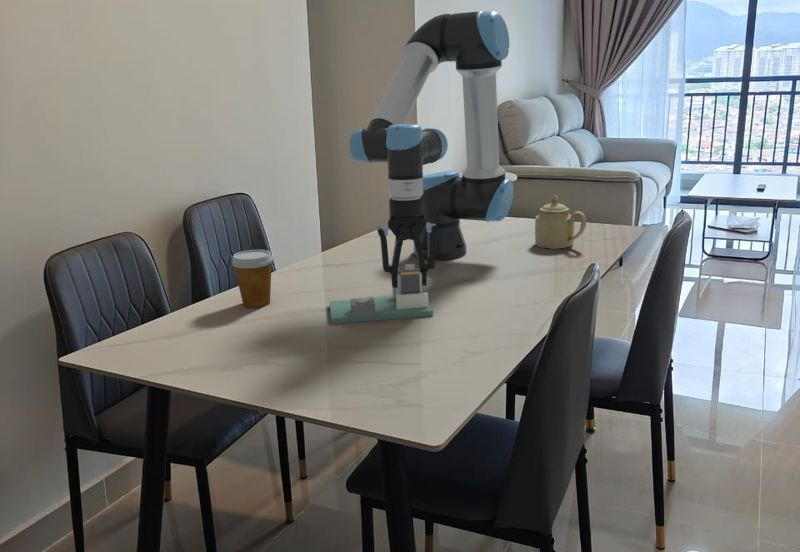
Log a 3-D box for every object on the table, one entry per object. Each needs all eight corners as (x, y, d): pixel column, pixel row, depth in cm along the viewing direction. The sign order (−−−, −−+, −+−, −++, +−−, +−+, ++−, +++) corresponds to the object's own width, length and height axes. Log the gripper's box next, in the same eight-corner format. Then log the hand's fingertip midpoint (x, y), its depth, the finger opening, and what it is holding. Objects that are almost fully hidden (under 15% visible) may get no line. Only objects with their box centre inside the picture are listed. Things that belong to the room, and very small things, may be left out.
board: (329, 306, 164) (328, 288, 163) (424, 298, 167) (423, 281, 165) (331, 323, 153) (330, 305, 152) (433, 315, 155) (432, 297, 154)
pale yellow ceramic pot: (588, 241, 212) (590, 191, 208) (584, 251, 202) (586, 198, 198) (538, 239, 217) (539, 190, 213) (531, 248, 207) (532, 197, 203)
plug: (399, 299, 163) (397, 260, 160) (417, 297, 164) (415, 259, 161) (402, 306, 158) (400, 266, 156) (420, 304, 159) (419, 265, 156)
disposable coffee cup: (284, 298, 171) (280, 250, 167) (264, 311, 162) (259, 260, 159) (249, 296, 174) (244, 248, 170) (228, 308, 165) (222, 258, 162)
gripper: (368, 202, 150) (373, 308, 156) (448, 197, 152) (450, 302, 158) (365, 196, 157) (370, 297, 163) (441, 192, 159) (443, 292, 165)
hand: (409, 299), depth 161 cm, fingers closed on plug, 4 cm apart
